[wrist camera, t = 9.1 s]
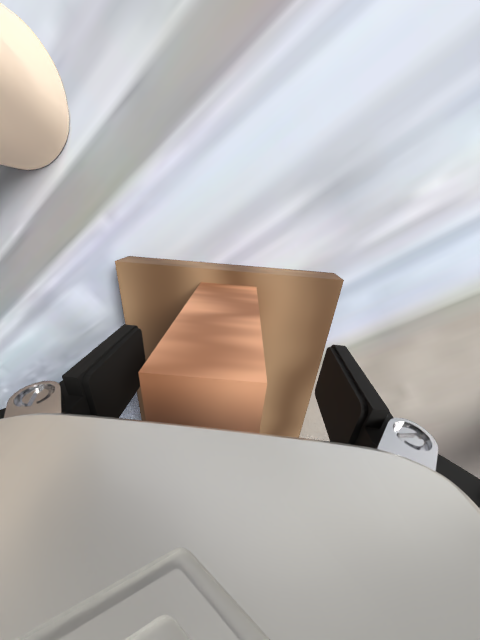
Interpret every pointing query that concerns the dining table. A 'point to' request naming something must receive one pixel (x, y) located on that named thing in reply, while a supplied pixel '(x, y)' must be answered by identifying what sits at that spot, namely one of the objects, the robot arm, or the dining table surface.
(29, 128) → the water bottle
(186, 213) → the dining table surface
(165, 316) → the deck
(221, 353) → the l-shaped wooden block
